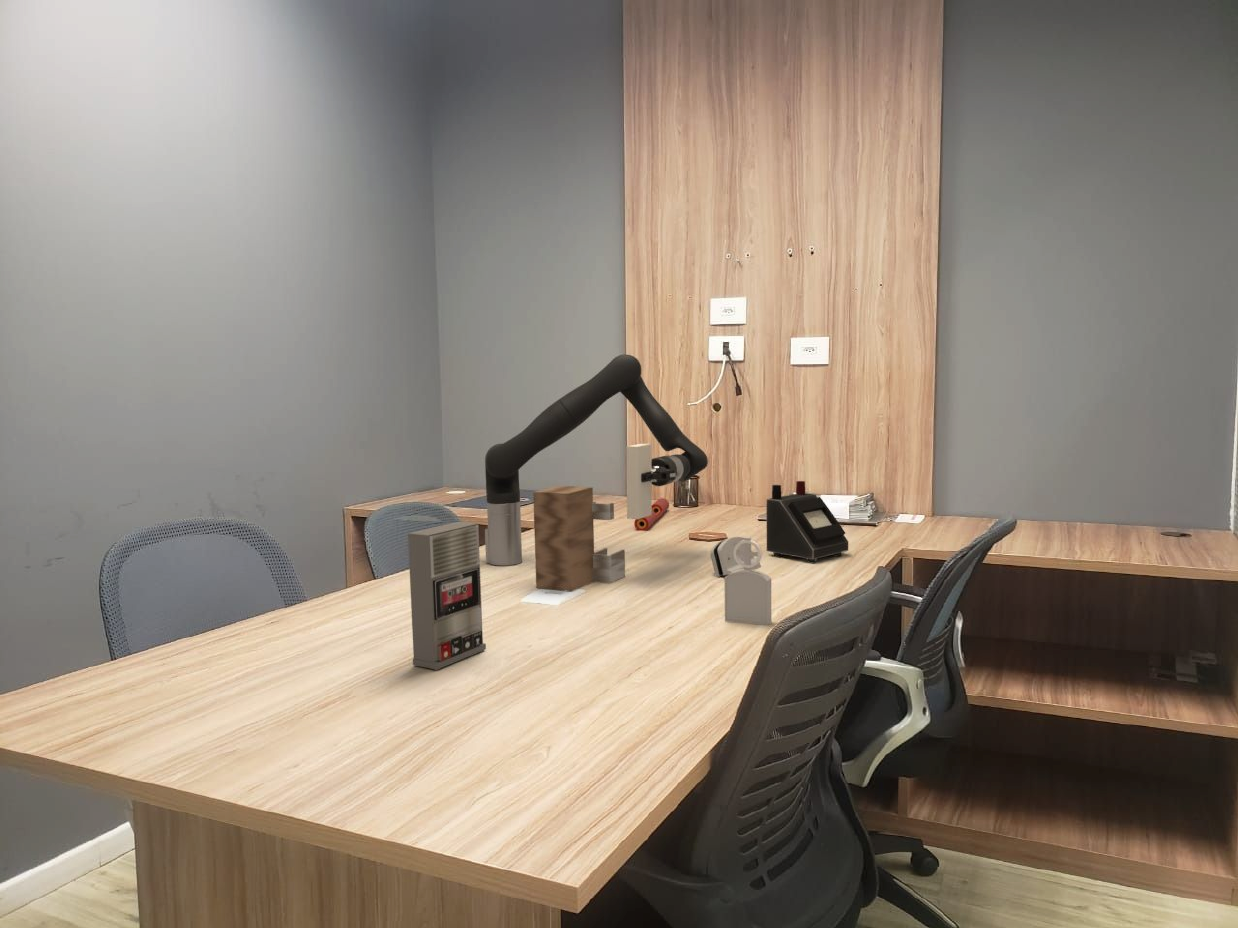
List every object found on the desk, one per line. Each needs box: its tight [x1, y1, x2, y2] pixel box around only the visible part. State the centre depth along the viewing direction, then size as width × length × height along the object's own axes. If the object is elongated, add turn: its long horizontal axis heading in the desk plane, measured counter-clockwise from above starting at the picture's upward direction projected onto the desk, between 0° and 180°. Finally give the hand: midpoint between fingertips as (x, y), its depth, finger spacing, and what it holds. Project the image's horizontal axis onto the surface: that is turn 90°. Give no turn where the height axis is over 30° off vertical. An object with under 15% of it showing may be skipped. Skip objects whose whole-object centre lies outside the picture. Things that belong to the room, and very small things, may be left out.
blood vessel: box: [633, 497, 670, 532], centre depth 328 cm, size 42×5×5 cm, turn 168°
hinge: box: [709, 536, 762, 578], centre depth 245 cm, size 17×5×10 cm, turn 146°
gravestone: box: [723, 536, 772, 626], centre depth 197 cm, size 3×9×18 cm, turn 65°
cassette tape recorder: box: [407, 521, 487, 671], centre depth 176 cm, size 14×6×25 cm, turn 148°
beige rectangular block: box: [625, 443, 653, 520], centre depth 234 cm, size 3×8×18 cm, turn 153°
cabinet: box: [532, 485, 626, 592], centre depth 236 cm, size 15×20×24 cm
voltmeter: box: [765, 480, 849, 564], centre depth 262 cm, size 16×16×20 cm
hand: (636, 477), depth 232 cm, fingers closed on beige rectangular block, 3 cm apart
